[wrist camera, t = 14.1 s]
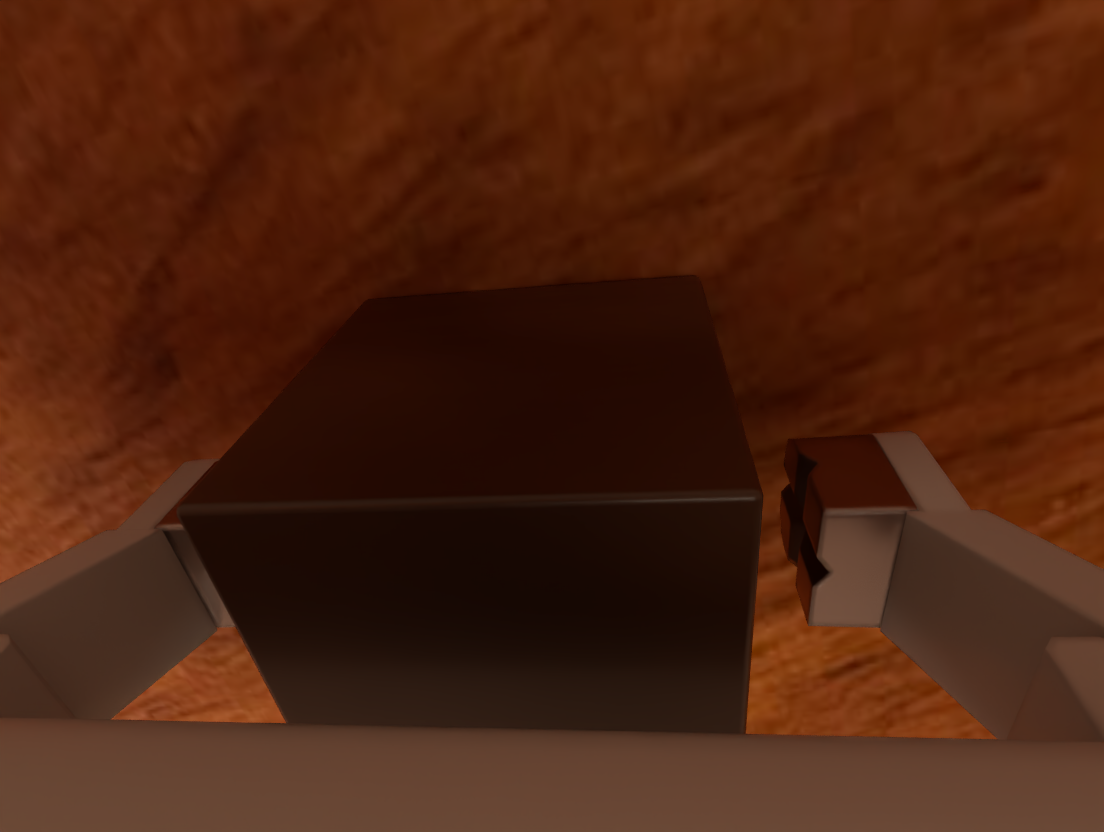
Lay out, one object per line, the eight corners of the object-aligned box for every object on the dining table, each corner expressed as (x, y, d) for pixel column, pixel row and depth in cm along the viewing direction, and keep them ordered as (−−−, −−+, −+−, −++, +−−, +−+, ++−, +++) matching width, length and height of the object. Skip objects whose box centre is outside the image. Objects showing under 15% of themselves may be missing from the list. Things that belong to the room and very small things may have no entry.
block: (432, 543, 12) (332, 817, 8) (364, 297, 10) (166, 509, 6) (697, 538, 12) (739, 835, 7) (700, 273, 9) (767, 493, 5)
